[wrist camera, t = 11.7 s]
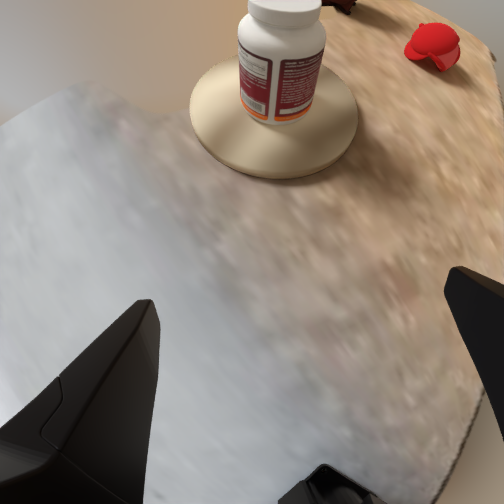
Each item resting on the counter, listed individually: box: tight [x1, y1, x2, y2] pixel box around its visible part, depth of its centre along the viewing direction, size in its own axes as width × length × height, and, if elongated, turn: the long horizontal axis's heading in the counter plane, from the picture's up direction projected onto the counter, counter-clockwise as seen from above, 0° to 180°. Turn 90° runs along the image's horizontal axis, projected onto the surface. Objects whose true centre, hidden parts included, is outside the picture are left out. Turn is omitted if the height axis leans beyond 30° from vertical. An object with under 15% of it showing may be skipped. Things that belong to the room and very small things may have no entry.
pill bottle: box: [238, 0, 326, 125], centre depth 20 cm, size 6×6×11 cm
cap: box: [404, 23, 460, 72], centre depth 27 cm, size 8×6×6 cm
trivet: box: [190, 55, 358, 179], centre depth 26 cm, size 15×15×1 cm
